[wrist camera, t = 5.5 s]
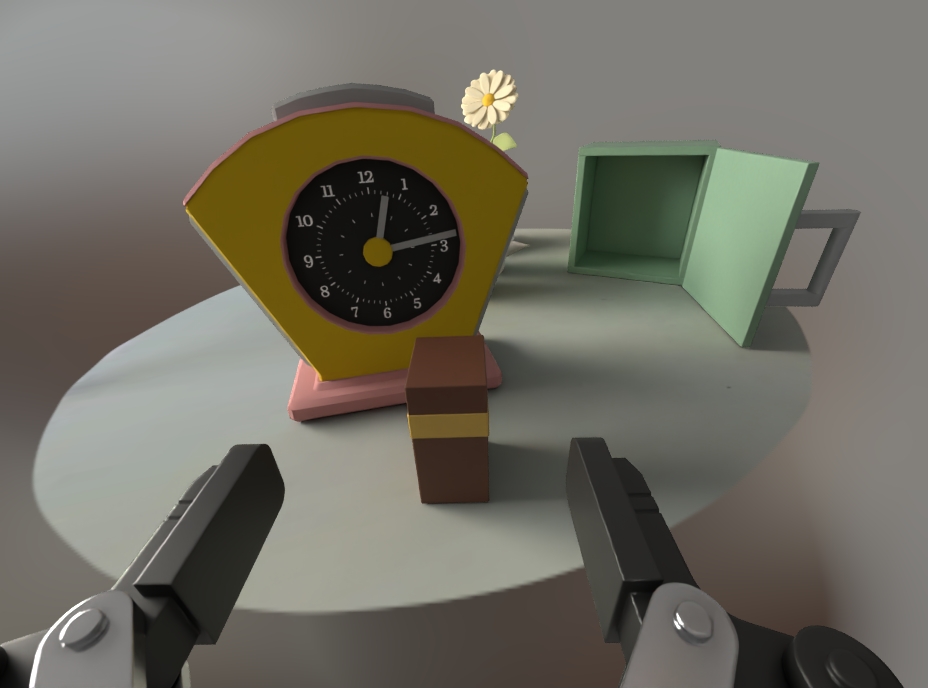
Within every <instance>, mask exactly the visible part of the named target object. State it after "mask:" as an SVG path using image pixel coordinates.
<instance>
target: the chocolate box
mask: <svg viewBox="0 0 928 688" xmlns="http://www.w3.org/2000/svg"><path fill="white" fill-rule="evenodd" d="M404 389H405V396H406V402H407V409H408V415H407V417H408V423H409V430H410V437H411V438H412V443H413V449H414V456H415V463H416V469H417V476H418V483H419V489H420V496H421V502H422V503H466V502H489V456H488V436H489V409H488V396H487V375H486V361H485V348H484V336H483V335H472V336H443V337H417V338H416V340H415V344H414V349H413V353H412V357H411V362H410V366H409V370H408V375H407V379H406V383H405V387H404Z"/></svg>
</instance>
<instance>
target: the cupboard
mask: <svg viewBox="0 0 928 688" xmlns="http://www.w3.org/2000/svg"><path fill="white" fill-rule="evenodd" d="M717 148H721V146H720V144H719V143H718V141H716V140H693V141H646V142H645V141H640V142H593V143H591V144H588V145H585V146H583V147H580V148H579V156H578V166H577V177H576V188H575V198H574V209H573V219H572V230H571V241H570V251H569V262H568V272H570V273H578V274H587V275H596V276H604V277H613V278H622V279H630V280H639V281H648V282H657V283H665V284H674V285H683V282H684V278H685V274H686V270H687V266H688V262H689V258H690V254H691V250H692V246H693V242H694V238H695V234H696V230H697V226H698V223H699V219H700V215H701V211H702V207H703V203H704V199H705V195H706V191H707V187H708V183H709V179H710V175H711V171H712V167H713V163H714V160H715V156H716V152H717Z"/></svg>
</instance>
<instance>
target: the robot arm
mask: <svg viewBox="0 0 928 688" xmlns="http://www.w3.org/2000/svg"><path fill="white" fill-rule="evenodd" d="M284 494H285V487H284V482H283V479H282V477H281V474H280V471H279V469H278V466H277V464H276V461H275V459H274V456H273V454H272V451H271V449H270V447H269V446H268V445H267V444H242V445H235V446H233V447H232V448H231V449H230V450H229V452H228V453H227V454H226V456H225V457H224V459H223V460H222V461H221V463H220V464H219V465H216V466H212V467H210V468H209V469H208V470H207V471H206V472H204V473H203V474H202V475H201V476H199V477H198V478H197V479H196V480H194V481H193V482H192V484H191V485H190V486H189V488H188V489H187V490H186V492H185V493H184V494H183V495H182V497H181V498H180V499H179V503H178V504H176V505H175V506H174V507H173V509H172V510H171V511H170V513H169V514H168V515H167V519H166V521H163V522H162V523H161V525H160V526H159V527H158V529H157V530H156V531H155V532H154V534H153V535H152V536H151V538H150V539H149V540H148V542H147V543H146V544H145V546H144V547H143V548H142V550H141V551H140V552H139V554H138V555H137V556H136V558H135V559H134V560H133V562H132V563H131V564H130V566H129V567H128V568H127V569H126V571H125V572H124V573H123V575H122V576H121V577H120V579H119V580H118V581H117V583H116V584H115V585H114V586H113V587H112V589H111V590H110V591H105V592H102V593H99V594H96V595H94V596H92V597H90V598H88V599H86V600H84V601H82V602H81V603H79V604H78V605H76V606H75V607H73V608H72V609H71V610H69V611H68V612H67V613H66V614H64V616H62V617H61V618H60V619H59V620H58V621H57V622H56V623H55V624H54V625H53V626H52V627H51V628H49V629H46V630H43V631H40V632H37V633H34V634H31V635H28V636H24V637H21V638H18V639H15V640H12V641H9V642H6V643H3V644H0V688H191V682H190V672H189V666H188V663H187V662H186V660H187V658H188V656H189V654H190V652H191V650H192V648H193V646H194V645H200V644H201V645H204V644H206V645H208V644H216V642H217V640H218V638H219V636H220V634H221V632H222V630H223V628H224V626H225V623H226V621H227V619H228V617H229V615H230V613H231V611H232V609H233V607H234V605H235V603H236V601H237V599H238V596H239V594H240V592H241V590H242V588H243V586H244V584H245V582H246V580H247V578H248V576H249V573H250V571H251V569H252V567H253V565H254V563H255V561H256V559H257V557H258V555H259V553H260V551H261V548H262V546H263V544H264V542H265V540H266V538H267V536H268V534H269V532H270V530H271V528H272V526H273V523H274V521H275V519H276V517H277V515H278V513H279V511H280V509H281V507H282V504H283V500H284ZM566 494H567V500H568V504H569V508H570V512H571V516H572V520H573V523H574V527H575V531H576V535H577V539H578V542H579V546H580V550H581V554H582V558H583V561H584V565H585V569H586V573H587V577H588V580H589V584H590V588H591V592H592V596H593V599H594V603H595V607H596V611H597V615H598V619H599V622H600V626H601V629H602V634H603V638H604V641H605V643H620V644H621V647H622V651H623V654H624V657H625V660H626V666H625V669H624V671H623V674H622V677H621V680H620V683H619V686H618V688H903V686H902V684H901V683H900V682H899V680H898V679H897V678H896V676H895V675H894V674H893V673H892V671H891V670H890V669H889V668H888V667H887V666H886V664H885V663H884V662H883V661H882V660H881V659H880V658H879V657H878V656H876V655H875V654H874V653H873V652H872V651H871V650H869V649H868V648H867V647H865V646H864V645H863V644H861V643H860V642H858V641H857V640H855V639H854V638H852V637H850V636H848V635H846V634H845V633H842V632H840V631H837V630H835V629H832V628H828V627H825V626H808V627H805V628H803V629H802V630H800V631H799V632H798V634H797V635H796V636H795V637H793V636H790V635H787V634H783V633H780V632H777V631H774V630H771V629H768V628H765V627H762V626H758V625H755V624H752V623H749V622H746V621H744V620H741V619H738V618H736V617H734V616H732V615H730V614H729V613H727V612H726V611H724V609H723V608H722V607H721V606H720V605H719V604H718V603H717V602H716V601H715V600H714V599H713V598H711V597H710V596H709V595H708V594H706V593H705V592H703V591H702V590H701V589H700V588H699V586H698V585H697V584H696V582H695V581H694V579H693V577H692V575H691V573H690V571H689V569H688V567H687V565H686V563H685V561H684V559H683V557H682V555H681V553H680V551H679V549H678V547H677V545H676V543H675V541H674V539H673V537H672V534H671V532H670V530H669V528H668V526H667V524H666V522H665V520H664V518H663V516H662V514H661V513H659V508H658V506H657V504H656V502H655V500H654V498H653V497H652V496H651V492H650V490H649V488H648V486H647V484H646V482H645V480H644V478H643V475H642V474H641V473H640V472H639V471H638V470H637V469H636V468H635V467H634V466H633V465H632V464H631V463H630V462H629V461H628V460H627V459H626V458H612V457H611V454H610V452H609V450H608V447H607V445H606V443H605V441H604V439H603V438H601V437H593V438H572V440H571V444H570V451H569V458H568V466H567V473H566Z"/></svg>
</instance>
